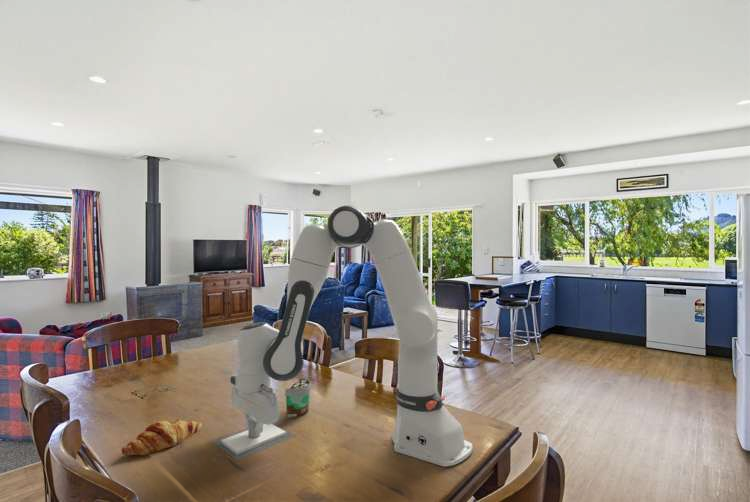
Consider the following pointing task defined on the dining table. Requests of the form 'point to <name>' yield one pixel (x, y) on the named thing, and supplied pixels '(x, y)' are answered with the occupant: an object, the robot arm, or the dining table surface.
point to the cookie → (153, 388)
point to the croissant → (161, 437)
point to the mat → (253, 450)
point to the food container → (298, 398)
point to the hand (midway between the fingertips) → (254, 429)
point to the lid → (252, 437)
